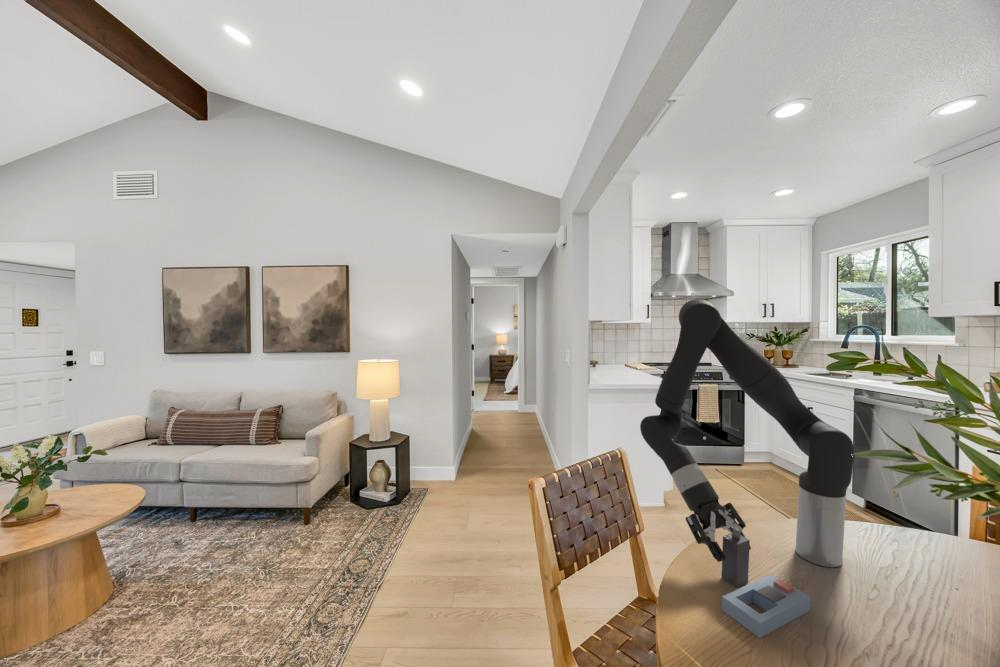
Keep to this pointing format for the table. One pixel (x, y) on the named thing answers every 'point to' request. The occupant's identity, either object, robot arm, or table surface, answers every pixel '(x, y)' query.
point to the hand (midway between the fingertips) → (735, 555)
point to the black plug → (735, 558)
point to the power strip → (766, 604)
